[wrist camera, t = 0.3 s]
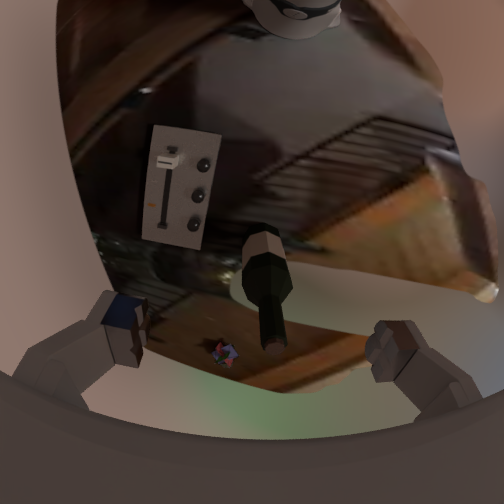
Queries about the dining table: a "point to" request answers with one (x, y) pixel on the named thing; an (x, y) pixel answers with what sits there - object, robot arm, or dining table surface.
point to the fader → (167, 160)
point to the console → (179, 186)
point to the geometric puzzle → (224, 355)
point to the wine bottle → (266, 283)
